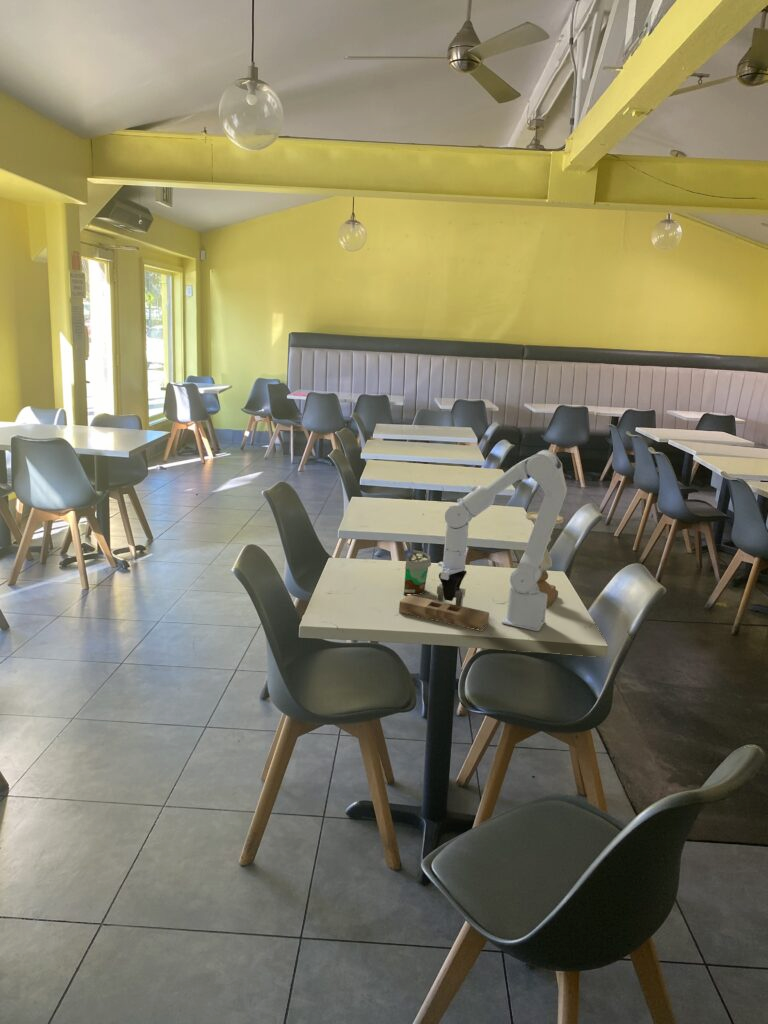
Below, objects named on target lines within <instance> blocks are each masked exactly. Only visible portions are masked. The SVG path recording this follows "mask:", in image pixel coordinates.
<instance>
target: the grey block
mask: <svg viewBox="0 0 768 1024" xmlns="http://www.w3.org/2000/svg"><path fill="white" fill-rule="evenodd" d="M436 589H437V590H436V595H437V601H440V602H444V603H446V602H445V601H446V600H445V599H444V593H443V587H442V583H440V584H439V585H438V586H437V588H436ZM465 597H466V588H463V587H462V588H461V587H460V588H457V587H456V590H455V595H454V598H453V599H455V604H454V605H458V606H464V605H463V603H464V598H465Z"/></svg>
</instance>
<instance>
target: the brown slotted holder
mask: <svg viewBox="0 0 768 1024" xmlns="http://www.w3.org/2000/svg"><path fill="white" fill-rule="evenodd" d="M398 606H399V608H398V613H399V612H401V613H400V614H403V613H406V614H405V615H408V614H411V615H410V616H412V615H414V616H413V617H417V616H419V617H418V618H421V617H423V618H422V619H425V618H428V619H427V620H430V619H433V620H432V621H434V620H438V621H437V622H439V621H442V622H441V623H443V622H446V623H445V624H447V623H450V624H449V625H452V624H454V625H453V626H456V625H459V626H458V627H461V626H464V627H463V628H465V627H469V628H474V629H479V630H482V629H483V628H484V627H485V626H486V627H487V626H488V625H489V619H490V612H489V611H486V610H485V611H484V610H480V609H476V608H472V607H467V606H464V605H462V606H458V605H455V604H454V603H453V604H452V603H448V602H440V601H438V600H434V599H430V598H426V597H420V596H418V595H405V597H403V599H401V600H400V601H399V605H398ZM486 627H485V628H486ZM469 628H468V629H469ZM485 628H484V629H485ZM474 629H473V630H474ZM484 629H483V630H484ZM483 630H482V631H483Z"/></svg>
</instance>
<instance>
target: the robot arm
mask: <svg viewBox="0 0 768 1024" xmlns="http://www.w3.org/2000/svg"><path fill="white" fill-rule="evenodd" d="M529 479H533V481H535V483H537V484H539V486H540V488H541V490H542V491H543V493H544V497H543V499H542V502H541V504H540V508H539V511H538V512H539V513H538V516H537V519H536V522H535V524H534V523H533V524H534V525H533V527H532V530H531V533H530V536H529V539H528V541H527V544H526V547H525V550H524V552H523V554H522V556H521V559H520V560H519V564H518V566H517V567H516V568H515V569H514V570H513V571H512V573H511V574H510V577H509V582H510V587H509V594H508V595H509V596H508V603H507V613H506V616H504V618H503V619H502V621H501V624H504V625H508V626H513V627H516V628H521V629H526V630H529V631H533V632H534V631H535V632H539V631H540V630H541V629H542V627H543V625H544V624H545V622H546V611H547V607H546V606H547V594H545V593H542V592H540V591H539V587H538V585H537V581H538V580H539V579H540V577H541V575H542V570H541V564H542V561H543V556H544V553H545V550H546V548H547V549H548V545H549V544H548V542H549V539H550V538H551V536H552V533H553V532H554V528H555V526H556V524H555V523H556V520H557V518H558V515H559V516H560V512H561V509H562V507H563V503H564V501H565V499H566V496H567V493H568V487H567V483H566V479H565V474H564V471H563V462H561V460H560V459H559V456H558V455H557V454H556V453H555V452H553V451H552V450H549V449H542V450H540V451H538V452H537V453H535V454H533V455H531V456H530V457H527V458H525V459H523V460H521V461H519V462H518V463H516V464H515V465H513V466H512V467H510V468H509V469H508V470H507V471H505V472H504V473H503V474H502V475H501V476H499V477H498V478H496V479H495V480H494V481H492V482H491V483H490V484H489V485H483V484H481V485H479V486H477V485H474V486H473V487H472V488H471V489H470V490H471V492H469V493H468V494H467V495H465V496H464V497H460V498H458V499H457V500H456V501H457V502H456V503H455V504H453V505H451V506H449V507H448V508H447V509H446V511H445V513H444V520H445V522H446V529H445V539H444V547H443V559H442V561H439V562H438V565H437V566H439V567H441V571H440V573H439V574H438V578H439V580H440V582H441V583H440V584H442V587H443V593H444V599H445V601H449V602H453V601H454V599H455V598H454V595H455V590H456V587H457V588H461V584H462V582H463V579H464V578H465V576H466V575H467V570H466V559H467V558H466V557H467V546H468V539H469V538H468V537H469V523H470V522H471V521H472V519H473V518H476V517H477V516H478V515H480V514H481V513H483V512H484V511H485V510H487V509H488V508H489V507H491V506H492V505H494V504H495V498H496V496H497V495H499V494H500V493H501V492H503V491H504V490H506V489H507V488H508V487H510V486H512V485H513V484H514V483H516V482H517V481H519V480H529ZM549 543H550V542H549Z"/></svg>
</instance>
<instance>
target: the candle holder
mask: <svg viewBox="0 0 768 1024" xmlns="http://www.w3.org/2000/svg"><path fill="white" fill-rule="evenodd" d="M538 513H539V511H530V512H526V513H525V518H526V519H527V520H529V521H531V522H533V524H535V522H536V519H537V516H538ZM563 522H564V517H563V516H561V515H560V514H559V515H558V518H557V520H556V523H555V525H559V524H561V523H563ZM551 541H552V538H551V537H550V539H549V542H548V545H549V544H550V542H551ZM552 561H553V559H552V558H551V556H550V553H549V551H548V547H547V548H546V550H545V553H544V556H543V561H542V564H541V570H542V575H541V577H540V579H539V580H538V581H537V585H538V587H539V591H540V592H542V593H545V594H547V606H546V608H549V607H550V606H551V605H552V604H553V603H554V602H555V601H556V600H557V599H558V597H559V590H557V589H556V588H557V587H556V586H555V585H553V584H549V582H548V581H547V580H548V578H549V574H548V572H547V571H548V570H550V569H551V568H552V566H553V562H552Z"/></svg>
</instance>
